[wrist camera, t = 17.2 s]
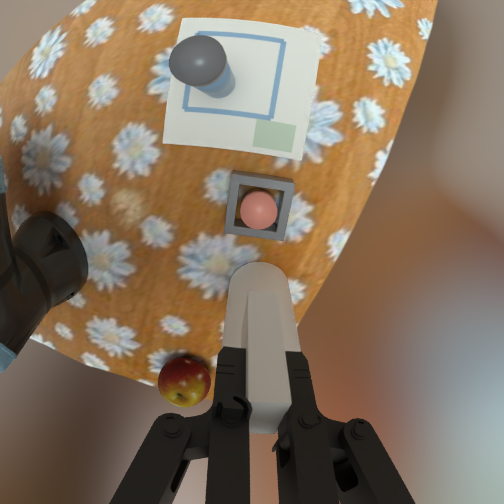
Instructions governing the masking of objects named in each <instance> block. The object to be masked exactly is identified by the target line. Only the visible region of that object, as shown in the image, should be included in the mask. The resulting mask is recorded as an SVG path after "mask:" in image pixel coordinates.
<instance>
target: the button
mask: <svg viewBox="0 0 504 504" xmlns="http://www.w3.org/2000/svg"><path fill="white" fill-rule="evenodd" d="M240 215H241V218H242V220H243V222H244V223H245V224H246V225H247V226H248V227H250V228H253V229H265V228H267V227H269V226H271V225H272V224H273V223H274V221H275V220H276V217H277V206H276V203H275V199H274V197H273V196H272V194H271V193H269V192H268V191H266V190H264V189H253V190H251V191H249V192H248V193H246V194H245V196H244V197H243V199H242V202H241V209H240Z"/></svg>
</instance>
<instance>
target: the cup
mask: <svg viewBox="0 0 504 504" xmlns="http://www.w3.org/2000/svg"><path fill="white" fill-rule="evenodd" d="M248 291H255V292H263V293H273V294H277V298H278V305H279V312H280V319H281V326H282V333H283V340H284V348H285V351H295V352H301V350H300V344H299V338H298V333H297V327H296V322H295V316H294V311H293V306H292V301H291V295H290V290H289V285H288V280H287V277H286V275H285V274H284V272H283V271H282V270H281V269H280V268H278V267H277V266H275V265H273V264H271V263H267V262H251V263H248V264H245V265H243V266H241V267H240V268H239V269H237V270H236V271H235V273H234V274H233V275H232V277H231V280H230V284H229V292H228V299H227V307H226V315H225V324H224V332H223V340H222V348H223V346H226V347H236V348H241V331H242V324H243V318H244V312H245V307H246V301H247V295H248Z"/></svg>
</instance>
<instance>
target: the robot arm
mask: <svg viewBox="0 0 504 504" xmlns="http://www.w3.org/2000/svg"><path fill="white" fill-rule="evenodd" d="M5 192H6V186H5V184H4V174H3V162H2V158H1V155H0V373H1V372H3V371H5V370H6V369H7V368H8V366H9V365H10V364H11V362H12V361H13V360H14V359H15V358H17V355H18V354H19V352H20V351H21V349H22V348H23V346H24V345H25V343H26V342H27V340H28V339H29V337H30V336H31V335H32V333H33V332H34V330H35V329H36V328H37V326H38V325H39V323H40V322H41V321H42V319H43V318H44V317H45V315H46V314H47V313H48V311H49V310H50V309H51V308H53V307H55V306H57V305H59V304H61V303H63V302H65V301H66V300H69V299H70V298H72V297H74V296H75V295H76V294H77V293H78V292H79V290H80V289H81V288H82V287H83V285H84V284H85V282H86V279H87V273H88V265H87V259H86V255H85V252H84V249H83V246H82V244H81V242H80V240H79V238H78V237H77V235H76V234H75V232H74V231H73V229H72V228H71V227H70V226H69V225H68V224H67V223H66V222H65V221H64V220H63V219H61V218H60V217H58V216H57V215H55V214H52V213H49V212H38V213H36V214H34V215H32V216H31V217H29V218H27V219H26V220H25V221H24V222H23V223H22V224H21V226H20V227H19V229H18V230H17V232H16V233H15V235H14V236H13V238H12V239H11V235H10V229H9V222H8V215H7V206H6V196H5ZM277 429H278V440H277V441H276V443H275V444H274V446H273V448H272V452H274V451H275V450H276V457H277V474H278V491H279V504H339V501H340V503H341V504H415V502H414V500H413V499H412V496H411V495H410V493H409V491H408V489H407V488H406V486H405V484H404V482H403V480H402V478H401V477H400V475H399V473H398V471H397V469H396V468H395V466H394V464H393V462H392V461H391V459H390V457H389V455H388V453H387V452H386V450H385V448H384V446H383V444H382V443H381V441H380V439H379V438H378V436H377V434H376V432H375V431H374V429H373V427H372V426H371V424H370V423H369V422H367V421H366V420H364V419H359V418H356V419H352V420H350V421H348V422H347V423H344V422H339V421H335V420H331V419H328V418H326V417H325V416H323V415H322V414H321V413H320V411H319V410H318V408H317V405H316V401H315V395H314V390H313V385H312V380H311V375H310V371H309V365H308V361H307V359H306V357H305V356H304V355H303V353H302V352H295V351H285V348H284V340H283V333H282V326H281V319H280V312H279V305H278V298H277V294H273V293H263V292H255V291H248V295H247V301H246V307H245V312H244V318H243V324H242V331H241V348H236V347H226V346H223V348H222V349H221V351H220V352H219V354H218V359H217V368H216V378H215V388H214V399H213V404H212V406H211V408H210V409H209V410H208V411H207V412H206V413H204V414H202V415H198V416H193V417H186V418H184V417H183V416H181V415H179V414H175V413H167V414H163V415H161V416H159V417H158V418H157V419H156V421H154V423H153V425H152V427H151V429H150V431H149V433H148V434H147V436H146V438H145V439H144V441H143V443H142V445H141V447H140V449H139V450H138V452H137V454H136V456H135V458H134V460H133V462H132V463H131V465H130V467H129V469H128V471H127V472H126V474H125V476H124V478H123V480H122V481H121V483H120V485H119V487H118V489H117V491H116V492H115V494H114V496H113V498H112V500H111V502H110V503H109V504H172V502H173V500H174V498H175V496H176V494H177V491H178V489H179V487H180V485H181V482H182V480H183V477H184V475H185V473H186V471H187V468H188V466H189V464H190V461H191V460H194V459H201V458H206V457H208V470H207V485H206V501H205V504H250V457H249V456H250V453H249V433H263V434H275V433H276V431H277Z"/></svg>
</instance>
